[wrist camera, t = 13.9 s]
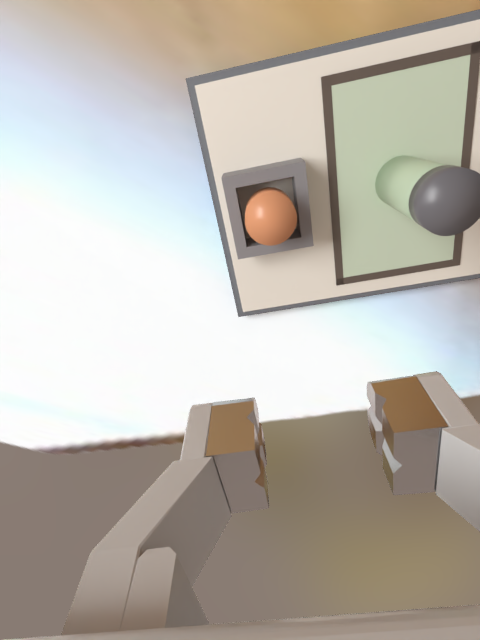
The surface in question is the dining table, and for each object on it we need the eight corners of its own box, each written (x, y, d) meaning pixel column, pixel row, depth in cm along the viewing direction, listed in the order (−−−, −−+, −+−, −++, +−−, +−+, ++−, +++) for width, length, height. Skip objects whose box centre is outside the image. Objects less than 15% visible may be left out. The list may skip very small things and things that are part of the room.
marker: (425, 150, 26) (492, 162, 19) (423, 201, 27) (484, 230, 20) (374, 160, 26) (421, 175, 19) (374, 210, 28) (418, 241, 21)
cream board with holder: (517, 2, 23) (559, -15, 20) (482, 271, 31) (508, 288, 28) (187, 79, 25) (179, 75, 22) (238, 311, 34) (237, 331, 31)
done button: (290, 182, 25) (293, 188, 23) (296, 231, 27) (299, 240, 25) (240, 192, 26) (240, 198, 24) (249, 240, 27) (250, 249, 25)
